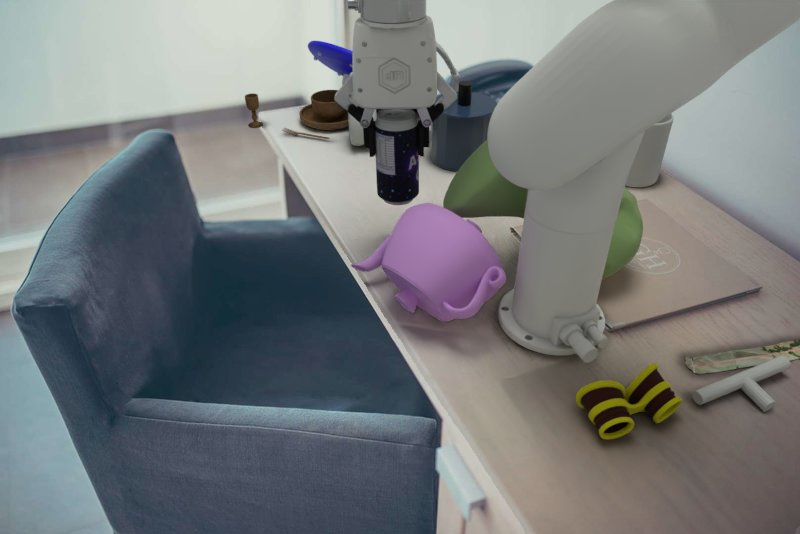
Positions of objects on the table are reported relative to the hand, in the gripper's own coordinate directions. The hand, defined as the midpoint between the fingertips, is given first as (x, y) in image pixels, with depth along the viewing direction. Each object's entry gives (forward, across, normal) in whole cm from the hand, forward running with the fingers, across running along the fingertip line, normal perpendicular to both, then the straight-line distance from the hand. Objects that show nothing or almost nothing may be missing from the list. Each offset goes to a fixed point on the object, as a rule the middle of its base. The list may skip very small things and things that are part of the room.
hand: (397, 150), depth 84 cm
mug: (+14, +37, +20) cm, 44 cm away
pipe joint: (+14, +37, -26) cm, 48 cm away
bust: (-3, +10, -6) cm, 12 cm away
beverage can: (+7, 0, 0) cm, 7 cm away
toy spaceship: (+4, -7, +47) cm, 48 cm away
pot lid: (+4, +10, +26) cm, 28 cm away
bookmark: (+15, +43, -22) cm, 51 cm away
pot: (+14, +10, +26) cm, 31 cm away
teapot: (+6, +8, -10) cm, 14 cm away
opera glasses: (+15, +24, -32) cm, 43 cm away
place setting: (+13, -18, +42) cm, 48 cm away
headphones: (+13, 0, +32) cm, 35 cm away
